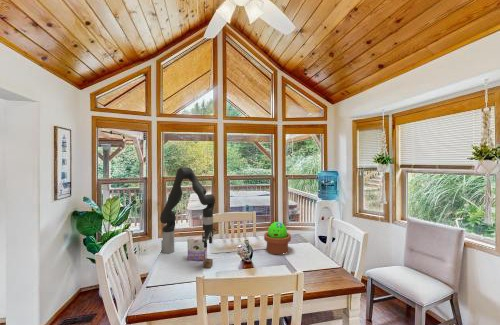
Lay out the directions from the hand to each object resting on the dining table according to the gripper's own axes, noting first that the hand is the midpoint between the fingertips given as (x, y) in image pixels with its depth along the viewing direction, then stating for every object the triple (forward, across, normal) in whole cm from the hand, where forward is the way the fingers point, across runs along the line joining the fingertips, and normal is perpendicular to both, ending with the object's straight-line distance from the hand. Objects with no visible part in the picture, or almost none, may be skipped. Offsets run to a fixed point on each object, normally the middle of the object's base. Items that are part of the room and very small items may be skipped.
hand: (208, 245), depth 175 cm
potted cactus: (+16, -42, +44) cm, 63 cm away
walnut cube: (+15, 0, 0) cm, 16 cm away
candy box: (+15, -10, -13) cm, 23 cm away
